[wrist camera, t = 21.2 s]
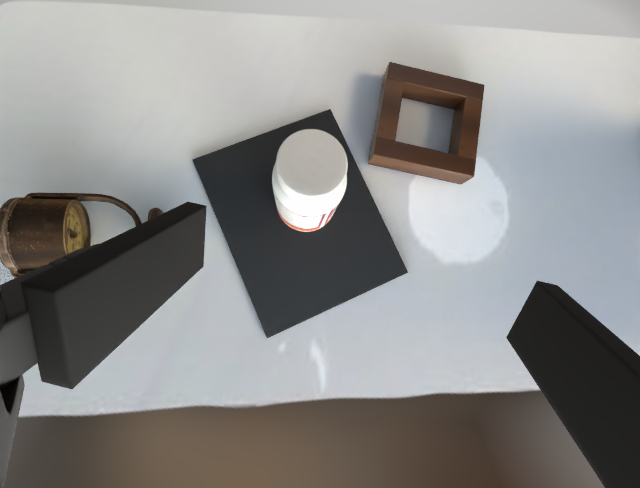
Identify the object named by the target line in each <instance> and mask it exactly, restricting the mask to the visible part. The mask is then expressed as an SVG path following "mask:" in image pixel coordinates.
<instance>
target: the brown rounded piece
mask: <svg viewBox="0 0 640 488" xmlns="http://www.w3.org/2000/svg"><path fill="white" fill-rule="evenodd" d="M80 201H102V202H109V203H113V204H115V205H117V206H118V207H120V208H122V209H124V210H126V211H127V212H128V213H129V214H130V215H131V216H132V218H133V219H134V221H135V224H136V226H139V225H141V224H142V223H141V221H140V218H139V217H138V215H137V213H136V212H135V211H134V210H133V209H132V208H131V207H130V206H129V205H128V204H126V203H125V202H123V201H121V200H119V199H116V198H114V197H112V196H107V195H102V194H84V193H30V194H28V195H26V196H25V197H24V198H12V199H10V200H8V201H7V202H5V203H4V204H3V205H2V207H1V208H0V259H1V262H2V264H3V265H4V266H6V267H7V268H8V269H9V270H10V272H11V274H12V275H13V276H14V278H17V277H19V276H21V275H24V274H26V273H28V272H30V271H32V270H34V269H37V268H39V267H41V266H43V265H45V264H46V265H48V264H49V263H50V262H52V261H54V260H56V259H58V258H63V256H65V255H67V254H69V253H71V252H73V251H75V250H78V249H80V248H84V247H88V246H90V224H89V218H88V214H87V211H86V209H85V207H84V206H83V204H82V203H81V202H80ZM161 214H163V212H162V211H161V210H160V209H158V208H153V209H151V210H150V211H149V215H148V221H149V220H151V219H153V218H155V217H157V216H159V215H161Z"/></svg>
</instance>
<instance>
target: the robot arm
mask: <svg viewBox="0 0 640 488" xmlns="http://www.w3.org/2000/svg"><path fill="white" fill-rule="evenodd" d="M205 221H206V206H204V205H200V204H196V203H191V202H186V203H184V204H182V205H180V206H178V207H176V208H174V209H172V210H170V211H168V212H166V213H163V214H161V215H159V216H157V217H155V218H153V219H151V220H149V221H147V222H145V223H143V224H141V225H139V226H136V227H134V228H132V229H130V230H128V231H126V232H124V233H122V234H120V235H118V236H116V237H114V238H112V239H109V240H107V241H105V242H103V243H101V244H97V245H93V246H88V247H84V248H80V249H78V250H75V251H73V252H71V253H69V254H67V255H65V256H63V258H58V259H56V260H54V261H52V262H50V263H49V264H48V265H46V264H45V265H43V266H41V267H39V268H37V269H34V270H32V271H30V272H28V273H26V274H24V275H21V276H19V277H17V278H15V279H13V280H11V281H9V282H6V283H4V284H2V285H0V488H4V483H5V479H6V474H7V469H8V464H9V459H10V454H11V448H12V444H13V439H14V434H15V430H16V424H17V420H18V415H19V410H20V405H21V400H22V395H23V390H24V380H23V375H22V374H23V373H25V372H26V371H27V370H28V369H30V368H31V367H32V366H34V365H35V364H36V363H38V366H39V371H40V376H41V380H42V382H46V383H50V384H54V385H58V386H61V387H65V388H69V389H73V388H74V387H75V386H76V385H77V384H78V383H79V382H80V381H81V380H82V379H84V378H85V377H86V376H87V375H88V374H89V373H90V372H91V371H92V370H93V369H94V368H95V367H96V366H97V365H99V364H100V363H101V362H102V361H103V360H104V359H105V358H106V357H107V356H108V355H109V354H110V353H111V352H112V351H113V350H115V349H116V348H117V347H118V346H119V345H120V344H121V343H122V342H123V341H124V340H125V339H126V338H127V337H128V336H129V335H131V334H132V333H133V332H134V331H135V330H136V329H137V328H138V327H139V326H140V325H141V324H142V323H143V322H144V321H146V320H147V319H148V318H149V317H150V316H151V315H152V314H153V313H154V312H155V311H156V310H157V309H158V308H159V307H160V306H162V305H163V304H164V303H165V302H166V301H167V300H168V299H169V298H170V297H171V296H172V295H173V294H174V293H175V292H176V291H178V290H179V289H180V288H181V287H182V286H183V285H184V284H185V283H186V282H187V281H188V280H189V279H190V278H191V277H193V276H194V275H195V274H196V273H197V272H198V271H199V270H200V269H201V268H202V267H203V262H204V241H205ZM507 339H508V341H509V342H510V344H511V345H512V347H513V348H514V350H515V351H516V353H517V354H518V356H519V357H520V359H521V360H522V362H523V363H524V365H525V367H526V368H527V370H528V371H529V373H530V374H531V376H532V377H533V379H534V380H535V382H536V383H537V385H538V386H539V388H540V389H541V391H542V392H543V394H544V395H545V397H546V398H547V400H548V401H549V403H550V404H551V406H552V407H553V409H554V411H555V412H556V414H557V415H558V417H559V418H560V420H561V421H562V423H563V424H564V426H565V427H566V429H567V430H568V432H569V433H570V435H571V436H572V438H573V439H574V441H575V442H576V444H577V446H578V447H579V449H580V450H581V451H582V453H583V455H584V456H585V458H586V459H587V461H588V462H589V464H590V465H591V467H592V468H593V470H594V471H595V473H596V474H597V476H598V477H599V479H600V481H601V482H602V484H603V485H604V487H605V488H640V356H639V355H638V354H637V353H636V352H634V351H633V350H632V349H631V348H630V347H629V346H627V345H626V344H625V343H624V342H623V341H622V340H620V339H619V338H618V337H617V336H616V335H615V334H613V333H612V332H611V331H610V330H609V329H608V328H606V327H605V326H604V325H603V324H602V323H601V322H599V321H598V320H597V319H596V318H595V317H594V316H592V315H591V314H590V313H589V312H588V311H587V310H585V309H584V308H583V307H582V306H581V305H580V304H578V303H577V302H576V301H575V300H574V299H573V298H571V297H570V296H569V295H568V294H567V293H566V292H564V291H563V290H562V289H561V288H560V287H559V286H557V285H553V284H549V283H545V282H540V281H537V282H536V284H535V286H534V287H533V289H532V291H531V293H530V295H529V297H528V299H527V300H526V302H525V304H524V306H523V308H522V310H521V312H520V313H519V315H518V317H517V319H516V321H515V323H514V325H513V326H512V328H511V330H510V332H509V334H508V336H507Z"/></svg>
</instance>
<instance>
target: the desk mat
mask: <svg viewBox="0 0 640 488" xmlns="http://www.w3.org/2000/svg"><path fill="white" fill-rule="evenodd" d="M305 129H317V130H321V131H324V132H327V133H329V134H330V135H332V136H333V137H335V138H336V139H337V140H338V141H339V142H340V144H341V145H342V146H343V148H344V150H345V153H346V156H347V161H348V168H347V173H346V175H347V185H346V190H345V193H344V195H343V198H342V200H341V201H340V203H339V205H338V206H337V208H336V210H335V212H334V214H333V216H332V217H331V219H330V220H329V221H328V222H327V223H326V224H325V225H324V226H323V227H321V228H319V229H317V230H314V231H309V232H303V231H298V230H295V229H293V228H291V227H289V226H288V225H287V224H286V223H285V222H284V221H283V220H282V219H281V217H280V215H279V213H278V210H277V206H276V202H275V197H274V192H273V186H272V173H273V168H274V165H275V163H276V157H277V153H278V150H279V148H280V146H281V144H282V143H283V142H284V140H285V139H286V138H288V137H289V136H290V135H292V134H293V133H295V132H298V131H301V130H305ZM193 162H194V164H195V167H196V169H197V171H198V174H199V176H200V178H201V181H202V183H203V186H204V188H205V190H206V193H207V195H208V198H209V200H210V202H211V205H212V207H213V210H214V212H215V214H216V217H217V219H218V222H219V224H220V226H221V229H222V231H223V233H224V236H225V238H226V241H227V243H228V245H229V248H230V250H231V253H232V255H233V257H234V260H235V262H236V265H237V267H238V269H239V272H240V274H241V277H242V279H243V281H244V284H245V286H246V288H247V291H248V293H249V296H250V298H251V300H252V303H253V305H254V308H255V310H256V312H257V315H258V317H259V320H260V322H261V324H262V327H263V329H264V332H265V334H266V336H267V338H269V337H271V336H273V335H275V334H277V333H279V332H281V331H284V330H286V329H288V328H290V327H292V326H294V325H296V324H299V323H301V322H303V321H305V320H307V319H309V318H311V317H314V316H316V315H318V314H320V313H322V312H324V311H326V310H328V309H331V308H333V307H335V306H337V305H339V304H341V303H343V302H346V301H348V300H350V299H352V298H354V297H356V296H358V295H361V294H363V293H365V292H367V291H369V290H371V289H373V288H376V287H378V286H380V285H382V284H384V283H386V282H388V281H391V280H393V279H395V278H397V277H399V276H401V275H403V274H405V273H407V270H406V267H405V265H404V263H403V261H402V259H401V257H400V255H399V253H398V251H397V249H396V246H395V244H394V242H393V240H392V238H391V236H390V234H389V232H388V230H387V227H386V225H385V223H384V221H383V219H382V217H381V215H380V213H379V211H378V209H377V206H376V204H375V202H374V200H373V198H372V196H371V194H370V192H369V190H368V187H367V185H366V183H365V181H364V179H363V177H362V175H361V173H360V171H359V168H358V166H357V164H356V162H355V160H354V158H353V156H352V154H351V152H350V150H349V147H348V145H347V143H346V141H345V139H344V137H343V135H342V133H341V131H340V128H339V126H338V124H337V122H336V120H335V118H334V116H333V114H332V112H331V110H330V109H329V110H327V111H324V112H321V113H318V114H316V115H313V116H310V117H308V118H305V119H302V120H299V121H297V122H294V123H291V124H288V125H286V126H283V127H280V128H278V129H275V130H272V131H269V132H267V133H264V134H261V135H259V136H256V137H253V138H250V139H248V140H245V141H242V142H239V143H237V144H234V145H231V146H229V147H226V148H223V149H220V150H218V151H215V152H212V153H210V154H207V155H204V156H201V157H199V158H196V159H193Z"/></svg>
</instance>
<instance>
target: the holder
mask: <svg viewBox="0 0 640 488" xmlns="http://www.w3.org/2000/svg"><path fill="white" fill-rule="evenodd" d="M483 92H484V85H483V84H478V83H474V82H470V81H466V80H462V79H458V78H454V77H450V76H445V75H441V74H437V73H433V72H429V71H425V70H421V69H417V68H413V67H408V66H404V65H400V64H396V63H392V62H389V65H388V67H387V69H386V72H385V74H384V76H383V81H382V86H381V92H380V98H379V104H378V109H377V115H376V121H375V126H374V132H373V138H372V144H371V149H370V155H369V161H368V164H371V165H376V166H380V167H385V168H390V169H394V170H399V171H403V172H408V173H412V174H417V175H421V176H426V177H430V178H435V179H439V180H444V181H448V182H453V183H457V184H463V183H464V182H466V181H468V180H469V179H471V178H472V177H474V171H475V162H476V160H475V159H476V153H477V145H478V136H479V127H480V118H481V110H482V101H483ZM402 97H404V98H408V99H413V100H417V101H421V102H425V103H430V104H434V105H438V106H442V107H447V108H451V109H454V115H453V123H452V131H451V138H450V146H449V153H445V152H440V151H436V150H432V149H427V148H423V147H418V146H414V145H410V144H405V143H401V142H396V141H395V137H396V131H397V125H398V119H399V112H400V106H401V100H402Z"/></svg>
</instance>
